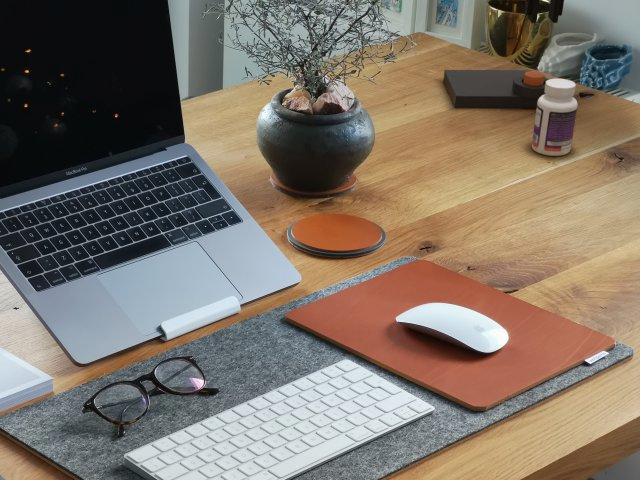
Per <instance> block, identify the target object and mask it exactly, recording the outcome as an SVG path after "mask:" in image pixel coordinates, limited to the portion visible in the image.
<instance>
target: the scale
mask: <svg viewBox="0 0 640 480" xmlns="http://www.w3.org/2000/svg"><path fill="white" fill-rule="evenodd" d="M443 70H444V71H443V83H444V86H445V88H446V90H447V93H448V95H449V97H450V100H451V102H452V104H453V106H454V108H457V109H458V108H462V109H463V108H465V109H467V108H469V109H470V108H471V109H472V108H473V109H477V108H478V109H489V108H490V109H499V108H500V109H502V108H503V109H509V108H510V109H537V102H538V99H539V98H540V97H541V96H542V95H544V94H545V92H544V91H545V84H546V81H547V80H550V79H551V78H548V77H545V76H544V83H543V85H540V86H531V85H526V84H524V83H523V81H524V74H525V72H528V71H532V69H443Z"/></svg>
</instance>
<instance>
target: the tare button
mask: <svg viewBox="0 0 640 480" xmlns="http://www.w3.org/2000/svg"><path fill="white" fill-rule="evenodd" d="M544 77H545V73H544V72H541V71H537V70H531V71H528V72H525V74H524V81H523V83H524V84H526V85H531V86H540V85H543V83H544Z"/></svg>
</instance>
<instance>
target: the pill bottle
mask: <svg viewBox="0 0 640 480" xmlns="http://www.w3.org/2000/svg"><path fill="white" fill-rule="evenodd" d="M549 79H550V80H547V81H546V84H545V91H544V92H545V94H544V95H542V96H541V97H540V98H539V99H538V102H537V108H535V109H536V110H535V117H534V124H533V130H532V140H531V148H532V150H533V151H534V152H536V153H538V154H541V155H543V156H544V155H545V156H551V157H559V156H564V155H567V154H569V152H570V151H571V149H572V145H573V138H574V132H575V131H574V130H575V125H576V120H577V119H576V118H577V112H578V107H579V106H578V101H577V99H576V98H575V97H574V96H575V93H576V85H577V84H576V82H574V81H573V80H571V79H566V78H549Z"/></svg>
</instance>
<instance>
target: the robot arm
mask: <svg viewBox="0 0 640 480" xmlns="http://www.w3.org/2000/svg"><path fill="white" fill-rule="evenodd" d="M564 4H565V0H549V8H548V14H547V15H548V16H547V17H548V19H549V20H550V21H551V23H553V24H558V22H559V17H561V16H562V15H563V12H564ZM539 7H540V0H525V5H524V16H527V20H529V22H530V23H531V24H535V23H537V21H538V16H539V15H538V13H539V9H540V8H539Z"/></svg>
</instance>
